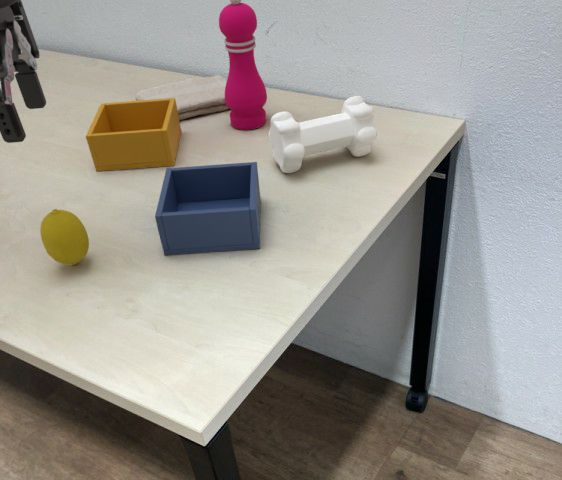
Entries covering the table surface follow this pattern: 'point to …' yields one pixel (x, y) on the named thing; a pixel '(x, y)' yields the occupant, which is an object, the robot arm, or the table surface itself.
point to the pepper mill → (242, 67)
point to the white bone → (322, 134)
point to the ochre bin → (134, 134)
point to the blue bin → (209, 209)
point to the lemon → (64, 237)
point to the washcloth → (191, 95)
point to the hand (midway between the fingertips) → (27, 123)
